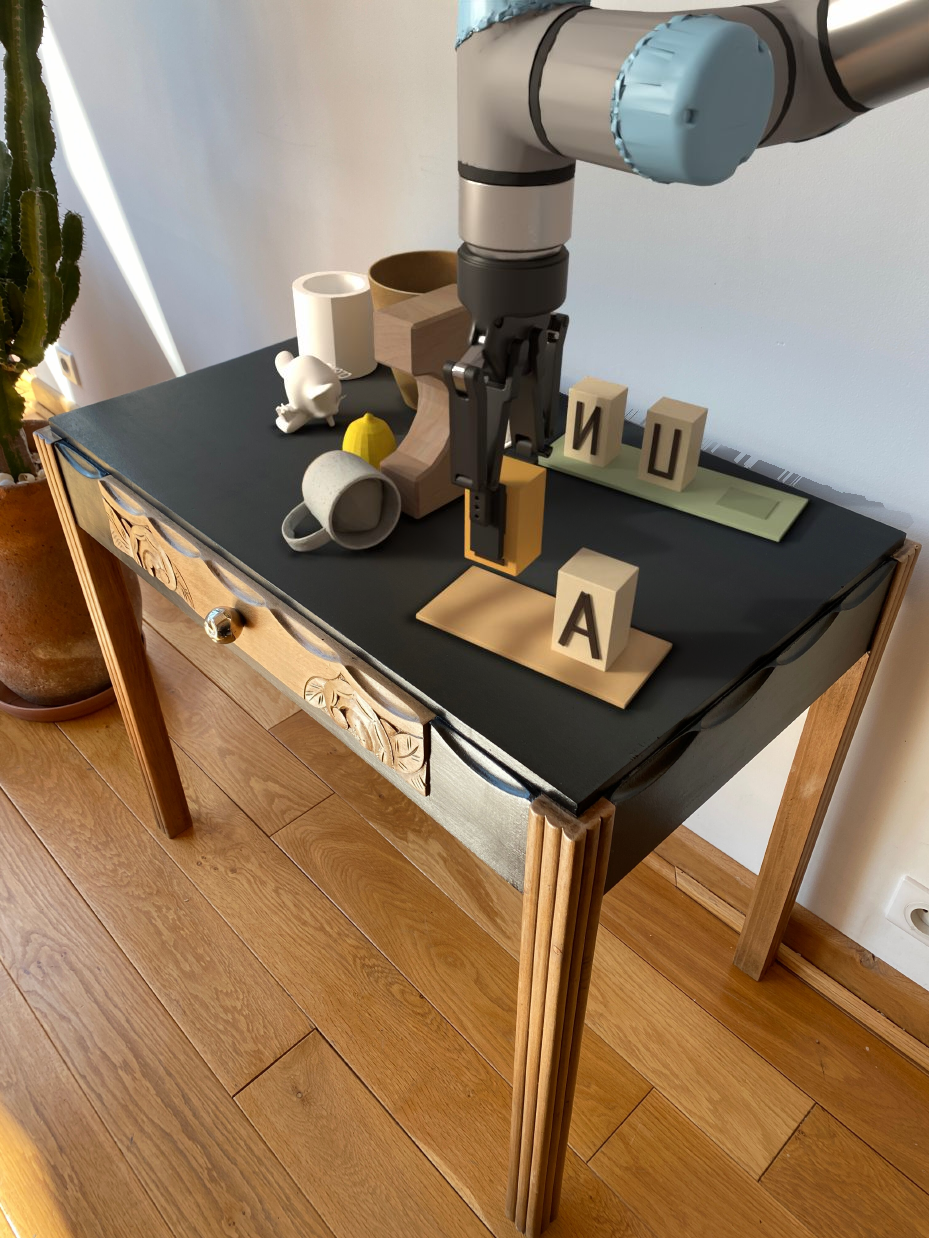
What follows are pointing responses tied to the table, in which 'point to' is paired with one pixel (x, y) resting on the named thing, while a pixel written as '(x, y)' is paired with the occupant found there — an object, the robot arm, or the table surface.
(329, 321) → the mug
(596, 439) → the wooden letter block
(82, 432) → the table surface
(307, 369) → the figurine
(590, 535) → the table surface
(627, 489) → the board
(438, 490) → the decorative block
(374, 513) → the ceramic mug
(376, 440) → the fruit
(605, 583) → the tile
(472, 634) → the front word board
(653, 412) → the U tile
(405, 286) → the plant pot
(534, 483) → the orange block
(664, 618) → the table surface
